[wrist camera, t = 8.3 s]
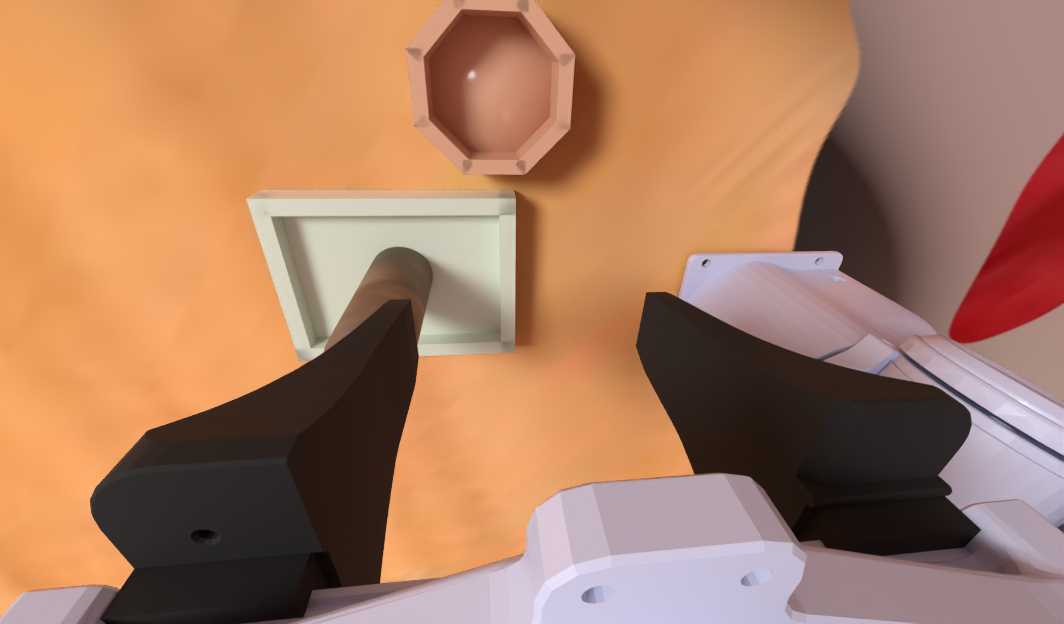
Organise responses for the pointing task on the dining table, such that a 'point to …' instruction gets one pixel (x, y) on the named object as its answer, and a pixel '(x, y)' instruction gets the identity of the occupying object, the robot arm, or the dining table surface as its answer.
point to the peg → (388, 289)
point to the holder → (491, 84)
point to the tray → (383, 222)
